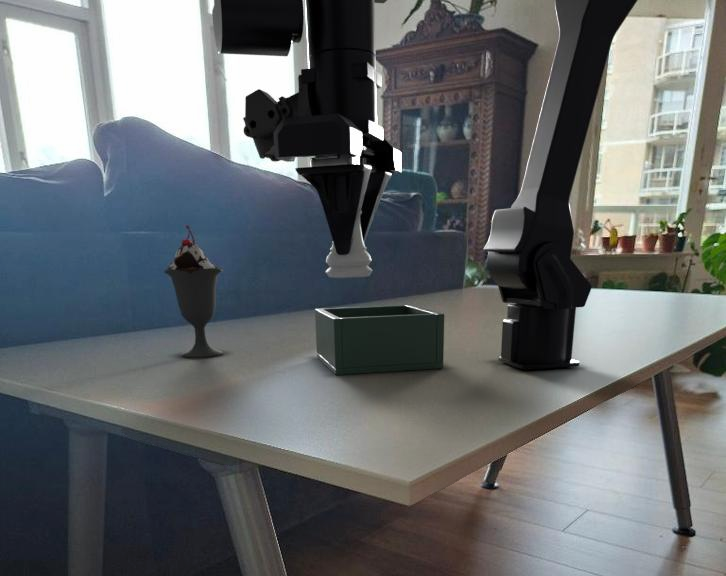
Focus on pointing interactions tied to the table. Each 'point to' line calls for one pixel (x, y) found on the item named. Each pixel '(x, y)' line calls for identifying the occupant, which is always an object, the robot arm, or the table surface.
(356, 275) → the rook chess piece
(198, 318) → the sundae
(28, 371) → the table surface
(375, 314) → the bin
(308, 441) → the table surface
